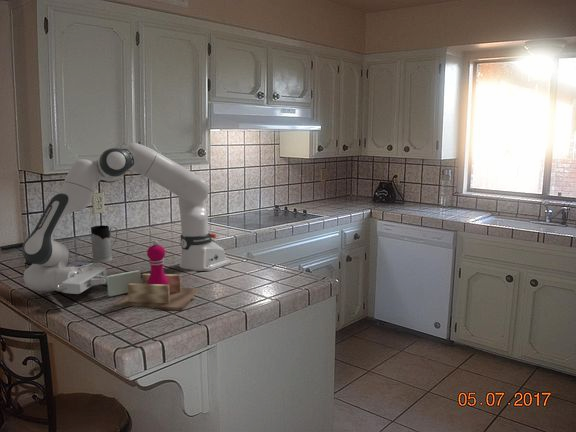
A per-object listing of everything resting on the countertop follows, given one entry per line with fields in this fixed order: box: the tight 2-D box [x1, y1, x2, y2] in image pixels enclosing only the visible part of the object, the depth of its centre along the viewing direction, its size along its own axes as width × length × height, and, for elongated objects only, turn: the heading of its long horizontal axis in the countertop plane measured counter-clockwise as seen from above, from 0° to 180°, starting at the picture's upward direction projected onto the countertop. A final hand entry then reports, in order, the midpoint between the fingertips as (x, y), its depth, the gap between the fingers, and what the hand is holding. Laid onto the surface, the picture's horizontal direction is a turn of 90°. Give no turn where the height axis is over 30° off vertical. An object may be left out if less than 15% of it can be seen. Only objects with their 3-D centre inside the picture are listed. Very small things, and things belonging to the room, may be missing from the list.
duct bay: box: [112, 273, 202, 311], centre depth 183 cm, size 24×20×7 cm
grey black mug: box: [90, 224, 119, 264], centre depth 237 cm, size 9×14×15 cm, turn 152°
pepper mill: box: [146, 240, 169, 285], centre depth 180 cm, size 7×7×20 cm
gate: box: [106, 269, 142, 297], centre depth 186 cm, size 2×12×7 cm, turn 127°
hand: (106, 280), depth 184 cm, fingers closed
